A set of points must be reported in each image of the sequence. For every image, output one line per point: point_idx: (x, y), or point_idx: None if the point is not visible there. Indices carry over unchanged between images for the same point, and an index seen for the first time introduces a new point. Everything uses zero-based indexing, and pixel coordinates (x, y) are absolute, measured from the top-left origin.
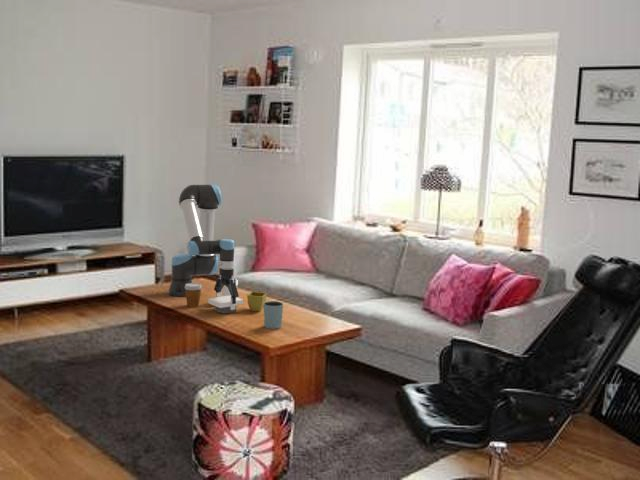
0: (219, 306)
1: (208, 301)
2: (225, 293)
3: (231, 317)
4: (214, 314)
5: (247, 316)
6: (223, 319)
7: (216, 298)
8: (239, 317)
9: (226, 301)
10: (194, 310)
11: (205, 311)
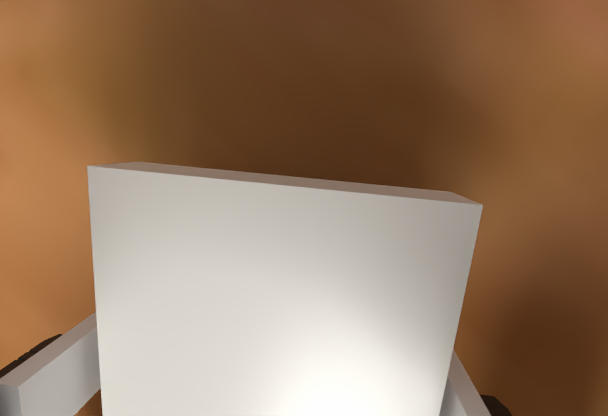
0: (140, 163)
1: (444, 194)
2: None
3: (73, 199)
4: (245, 134)
5: (41, 325)
6: (47, 91)
7: (388, 324)
8: (43, 255)
9: (141, 317)
10: (528, 47)
11: (402, 130)
